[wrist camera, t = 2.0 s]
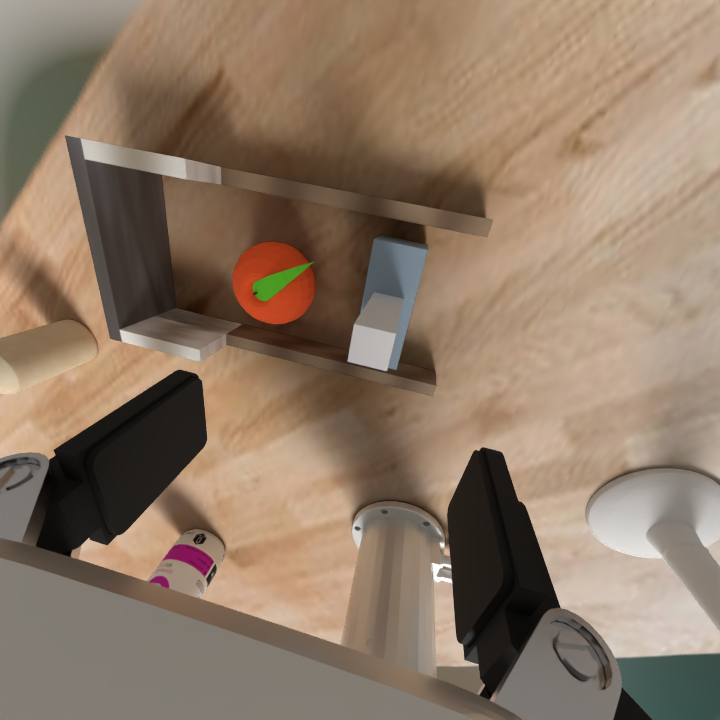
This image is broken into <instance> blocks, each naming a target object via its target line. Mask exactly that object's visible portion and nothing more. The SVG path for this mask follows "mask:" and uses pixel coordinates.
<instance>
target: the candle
mask: <svg viewBox="0 0 720 720" xmlns="http://www.w3.org/2000/svg"><path fill="white" fill-rule="evenodd" d="M97 353H98V346H97V342H96V340H95V338H94V336H93V335H92V333H91V332H90V331H89V330H88V329H87V328H86V327H85V326H83V325H82V324H81V323H79V322H77V321H74V320H62V321H58V322H54V323H51V324H48V325H44V326H41V327H37V328H34V329H31V330H27V331H24V332H20V333H17V334H14V335H10V336H7V337H4V338H0V393H2V394H15V393H17V392H20V391H22V390H24V389H26V388H29V387H31V386H33V385H36V384H38V383H40V382H42V381H45V380H47V379H49V378H51V377H54V376H56V375H58V374H61V373H63V372H65V371H67V370H70V369H72V368H74V367H76V366H79V365H81V364H83V363H85V362H88V361H90V360H92V359H93V358H95V357H96V355H97Z"/></svg>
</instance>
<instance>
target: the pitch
mask: <svg viewBox="0 0 720 720" xmlns="http://www.w3.org/2000/svg"><path fill="white" fill-rule="evenodd" d="M65 138H66V142H67V147H68V151H69V156H70V160H71V165H72V169H73V174H74V178H75V182H76V187H77V191H78V196H79V200H80V205H81V209H82V214H83V218H84V223H85V227H86V232H87V236H88V241H89V245H90V250H91V254H92V259H93V263H94V268H95V272H96V277H97V281H98V286H99V290H100V295H101V299H102V304H103V308H104V313H105V317H106V322H107V326H108V331H109V335H110V339H114V340H117V341H121V342H125V343H129V344H133V345H137V346H141V347H145V348H148V349H152V350H156V351H160V352H164V353H168V354H172V355H176V356H179V357H183V358H187V359H191V360H195V361H199V362H201V361H203V360H204V359H206V358H207V357H209V356H210V355H212V354H213V353H215V352H216V351H218V350H219V349H221V348H222V347H224V346H225V345H229V346H233V347H237V348H241V349H245V350H249V351H253V352H257V353H261V354H265V355H269V356H273V357H277V358H281V359H285V360H289V361H293V362H297V363H301V364H305V365H309V366H313V367H317V368H321V369H325V370H329V371H333V372H337V373H341V374H345V375H349V376H353V377H357V378H361V379H365V380H369V381H373V382H377V383H381V384H385V385H389V386H393V387H397V388H401V389H405V390H409V391H413V392H417V393H421V394H425V395H429V396H433V395H434V392H435V389H436V386H437V385H436V371H433V370H429V369H425V368H421V367H417V366H413V365H408V364H404V363H400V362H398V366H397V370H395V369H391V368H388V369H387V371H383V370H379V369H375V368H371V367H367V366H363V365H359V364H355V363H351V362H347V361H348V355H349V350H347V349H342V348H338V347H334V346H330V345H326V344H322V343H318V342H314V341H309V340H305V339H301V338H297V337H293V336H289V335H285V334H281V333H276V332H272V331H268V330H264V329H260V328H256V327H252V326H248V325H243V324H239V323H235V322H231V321H227V320H223V319H219V318H215V317H210V316H206V315H202V314H198V313H194V312H190V311H186V310H182V309H177V308H176V304H175V295H174V286H173V276H172V267H171V258H170V249H169V240H168V230H167V221H166V212H165V203H164V194H163V185H162V175H166V176H171V177H176V178H182V179H187V180H193V181H200V182H207V183H214V184H221V185H226V186H231V187H236V188H241V189H246V190H251V191H256V192H261V193H266V194H271V195H276V196H281V197H287V198H292V199H297V200H302V201H307V202H312V203H317V204H322V205H327V206H332V207H337V208H342V209H347V210H352V211H357V212H362V213H367V214H372V215H377V216H382V217H387V218H392V219H397V220H402V221H407V222H412V223H417V224H422V225H427V226H432V227H437V228H442V229H447V230H452V231H457V232H462V233H467V234H472V235H477V236H482V237H488V234H489V231H490V228H491V225H492V222H493V220H492V219H487V218H482V217H477V216H471V215H466V214H461V213H456V212H451V211H446V210H440V209H435V208H430V207H425V206H420V205H415V204H409V203H404V202H399V201H394V200H389V199H384V198H378V197H373V196H368V195H363V194H358V193H353V192H348V191H342V190H337V189H332V188H327V187H322V186H317V185H311V184H306V183H301V182H296V181H291V180H286V179H280V178H275V177H270V176H265V175H260V174H255V173H249V172H244V171H239V170H234V169H229V168H224V167H219V166H214V165H210V164H206V163H201V162H197V161H193V160H188V159H184V158H179V157H173V156H168V155H163V154H158V153H153V152H148V151H142V150H137V149H132V148H127V147H122V146H117V145H111V144H106V143H101V142H96V141H91V140H85V139H80V138H75V137H70V136H65Z"/></svg>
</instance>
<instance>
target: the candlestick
mask: <svg viewBox="0 0 720 720" xmlns="http://www.w3.org/2000/svg"><path fill="white" fill-rule="evenodd" d="M586 521H587V524H588V526H589V528H590V530H591V532H592V533H593V534H594V536H595V537H596V538H597V539H598V540H599V541H600V542H602V543H603V544H605V545H606V546H608V547H610V548H612V549H614V550H616V551H619V552H622V553H625V554H629V555H633V556H638V557H645V558H663V559H664V560H665V562H667V563H668V565H669V566H670V567H671V568H672V570H673V571H674V572H675V574H676V575H677V576H678V578H679V579H680V580H681V581H682V583H683V584H684V585H685V587H686V588H687V589H688V591H689V592H690V593H691V595H692V596H693V597H694V598H695V600H696V601H697V602H698V604H699V605H700V606H701V608H702V609H703V610H704V612H705V613H706V614H707V615H708V617H709V618H710V619H711V621H712V622H713V623H714V625H715V626H716V627H717V629H718V630H719V631H720V566H719V565H718V564H717V562H716V561H715V560H714V558H713V557H712V556H711V554H710V553H709V551H708V549H707V548H706V547H708V546H710V545H711V544H713V543H714V542H716V541H717V540H718V539H720V485H719V484H718V483H717V482H715V481H714V480H712V479H711V478H709V477H707V476H705V475H702V474H699V473H696V472H693V471H689V470H683V469H674V468H657V469H648V470H642V471H637V472H633V473H630V474H627V475H624V476H621V477H619V478H617V479H615V480H613V481H611V482H609V483H607V484H606V485H604V486H603V487H602V488H600V489H599V490H598V491H597V492H596V493H595V494H594V495H593V496H592V498H591V499H590V501H589V503H588V505H587V508H586Z"/></svg>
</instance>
